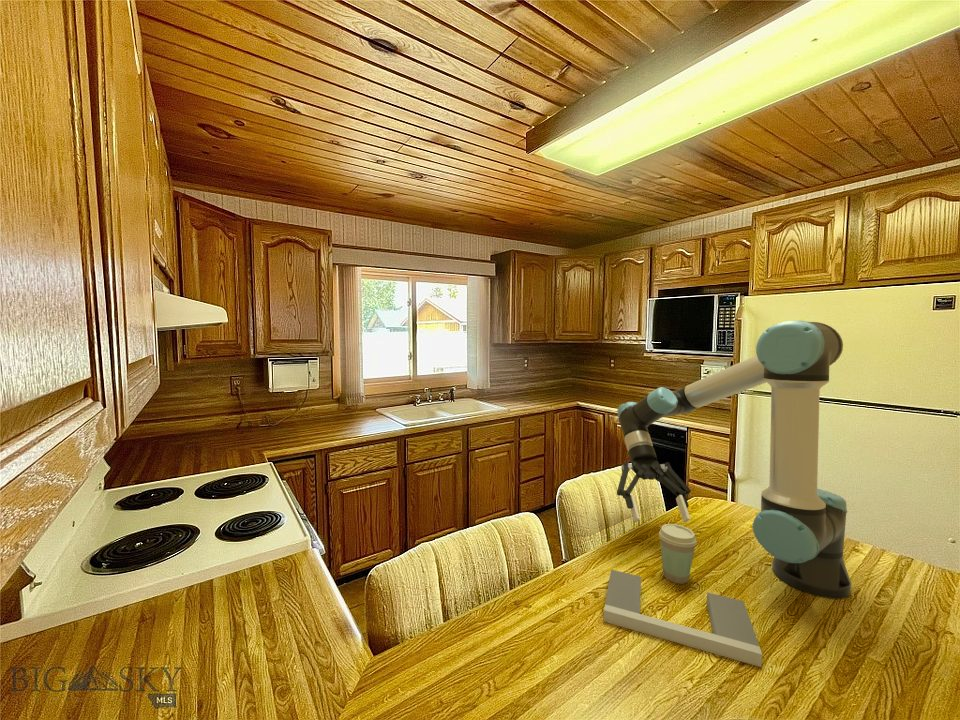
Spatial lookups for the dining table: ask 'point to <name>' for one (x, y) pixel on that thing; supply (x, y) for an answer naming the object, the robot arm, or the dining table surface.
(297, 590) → the dining table surface
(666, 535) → the coffee cup
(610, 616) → the u-shaped bracket
